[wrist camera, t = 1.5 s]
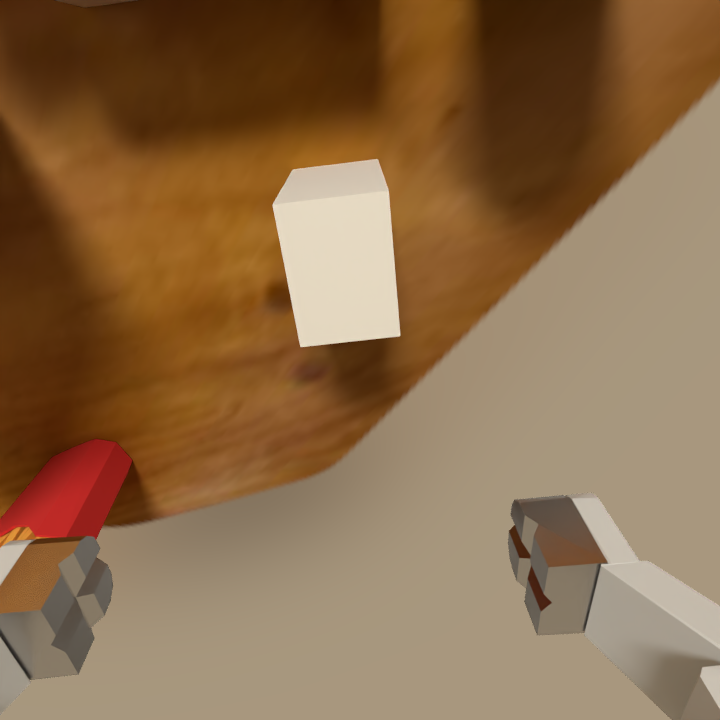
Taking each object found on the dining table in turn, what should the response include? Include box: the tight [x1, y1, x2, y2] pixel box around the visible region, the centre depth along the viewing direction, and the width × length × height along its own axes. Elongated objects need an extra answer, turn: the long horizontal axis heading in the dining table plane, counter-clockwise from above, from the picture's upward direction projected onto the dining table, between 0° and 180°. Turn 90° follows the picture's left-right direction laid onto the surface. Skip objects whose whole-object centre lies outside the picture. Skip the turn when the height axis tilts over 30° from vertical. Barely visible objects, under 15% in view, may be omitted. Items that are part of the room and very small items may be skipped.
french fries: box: [0, 439, 132, 548], centre depth 34 cm, size 9×4×13 cm, turn 115°
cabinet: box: [273, 159, 400, 347], centre depth 27 cm, size 5×7×9 cm
